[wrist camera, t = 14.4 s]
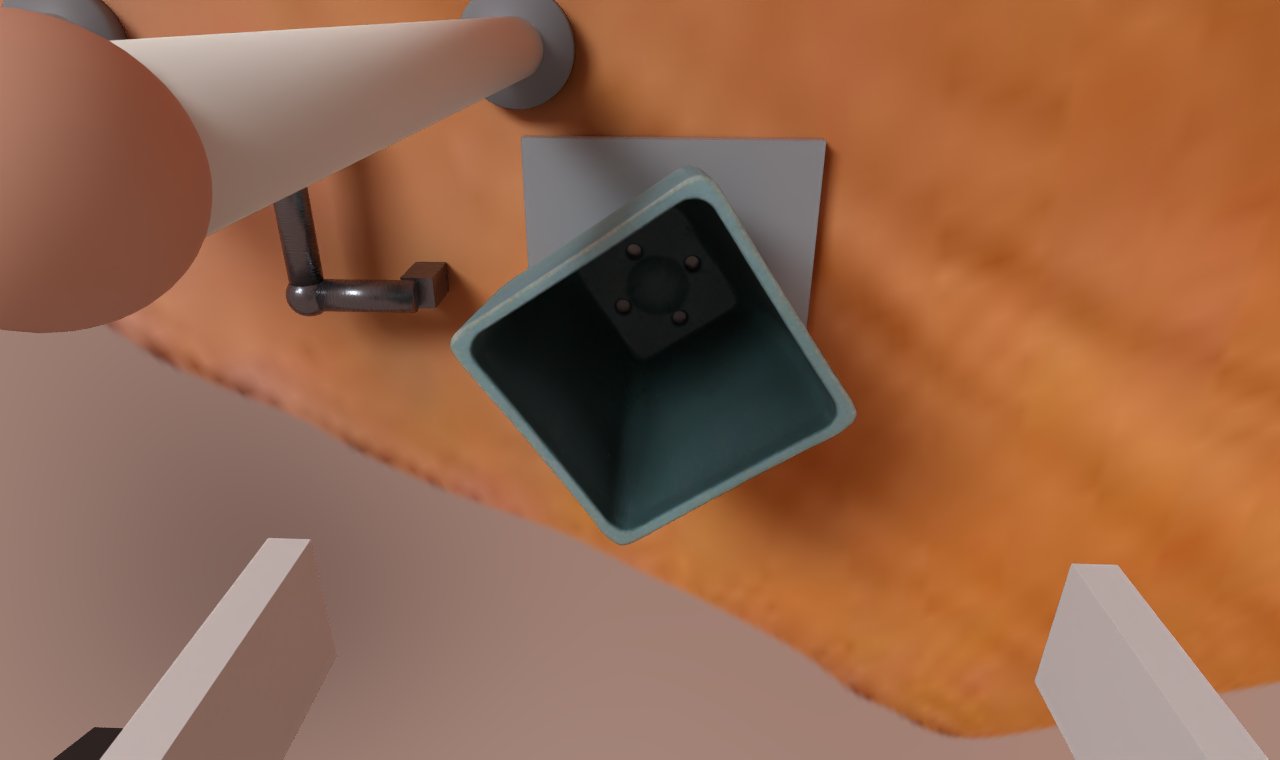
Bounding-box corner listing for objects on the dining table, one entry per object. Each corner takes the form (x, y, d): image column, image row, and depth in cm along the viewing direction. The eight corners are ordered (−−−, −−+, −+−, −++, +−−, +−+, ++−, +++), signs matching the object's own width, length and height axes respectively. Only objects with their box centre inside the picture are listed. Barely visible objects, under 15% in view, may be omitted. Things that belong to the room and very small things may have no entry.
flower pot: (814, 313, 31) (866, 423, 23) (630, 420, 33) (617, 554, 25) (696, 120, 28) (707, 166, 20) (502, 252, 30) (440, 342, 22)
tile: (523, 135, 29) (520, 137, 28) (823, 138, 28) (826, 141, 28) (538, 400, 33) (536, 407, 33) (795, 405, 33) (797, 412, 33)
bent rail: (277, 72, 28) (232, 80, 25) (425, 73, 28) (397, 81, 25) (317, 293, 32) (282, 322, 29) (449, 295, 32) (427, 324, 29)
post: (456, -17, 27) (-580, -133, 5) (573, -17, 26) (94, -131, 4) (467, 106, 28) (-244, 458, 6) (576, 107, 28) (245, 469, 6)
